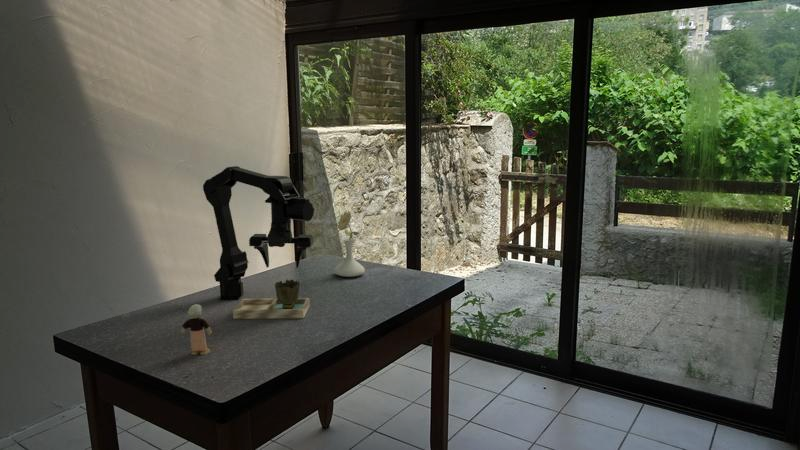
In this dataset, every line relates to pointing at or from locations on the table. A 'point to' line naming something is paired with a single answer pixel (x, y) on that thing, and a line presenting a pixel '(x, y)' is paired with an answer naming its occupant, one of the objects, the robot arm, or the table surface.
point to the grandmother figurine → (197, 330)
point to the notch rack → (269, 309)
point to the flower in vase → (348, 251)
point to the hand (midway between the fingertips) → (282, 267)
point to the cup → (287, 293)
